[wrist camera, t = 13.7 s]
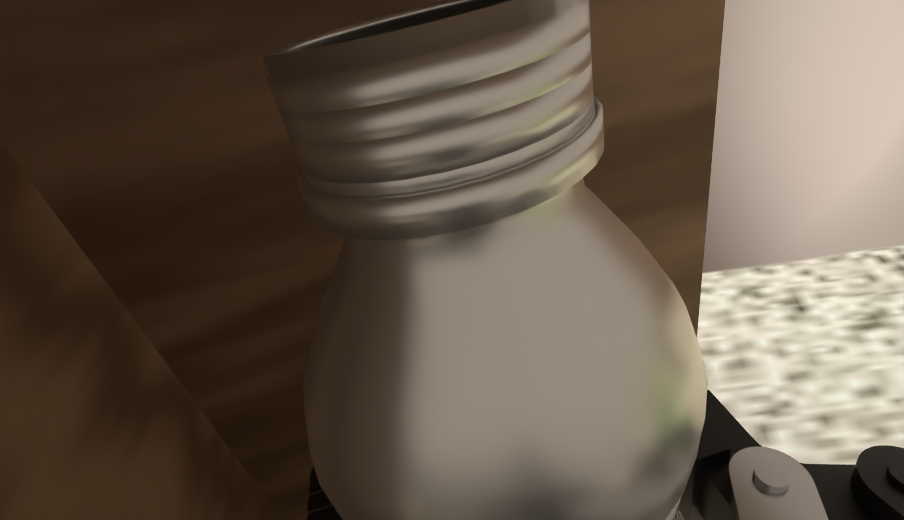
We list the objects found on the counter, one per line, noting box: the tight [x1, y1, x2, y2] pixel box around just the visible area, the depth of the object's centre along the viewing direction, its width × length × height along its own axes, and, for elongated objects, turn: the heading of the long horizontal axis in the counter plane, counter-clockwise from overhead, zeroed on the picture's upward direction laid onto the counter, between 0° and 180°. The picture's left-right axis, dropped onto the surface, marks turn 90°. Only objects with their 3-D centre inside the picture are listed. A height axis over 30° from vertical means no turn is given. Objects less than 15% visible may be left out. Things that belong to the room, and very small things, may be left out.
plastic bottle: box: [262, 0, 708, 520], centre depth 10 cm, size 6×7×20 cm
